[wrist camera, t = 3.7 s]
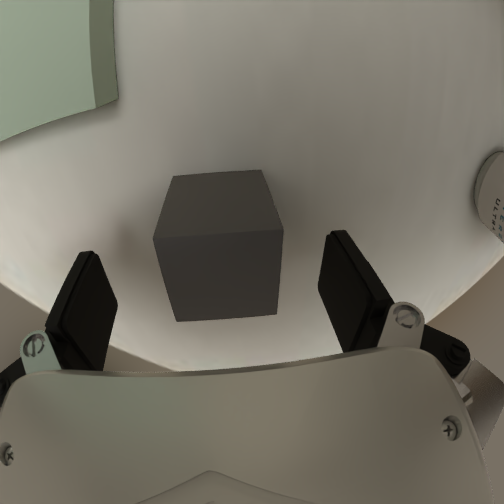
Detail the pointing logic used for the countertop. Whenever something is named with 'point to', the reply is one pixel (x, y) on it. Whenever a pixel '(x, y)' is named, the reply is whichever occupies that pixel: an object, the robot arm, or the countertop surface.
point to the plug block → (220, 246)
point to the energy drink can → (491, 194)
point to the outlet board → (54, 60)
